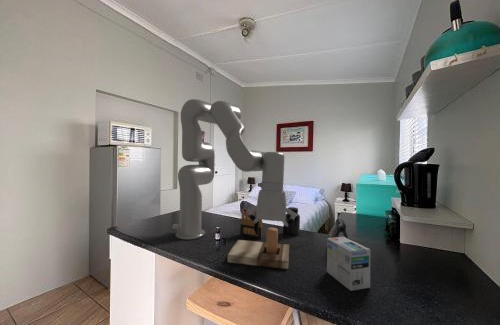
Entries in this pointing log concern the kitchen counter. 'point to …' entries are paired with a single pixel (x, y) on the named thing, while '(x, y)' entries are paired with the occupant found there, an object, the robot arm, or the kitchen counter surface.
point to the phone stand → (339, 229)
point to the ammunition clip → (250, 226)
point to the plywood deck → (258, 254)
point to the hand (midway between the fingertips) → (270, 235)
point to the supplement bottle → (293, 223)
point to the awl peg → (272, 241)
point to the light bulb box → (348, 263)
